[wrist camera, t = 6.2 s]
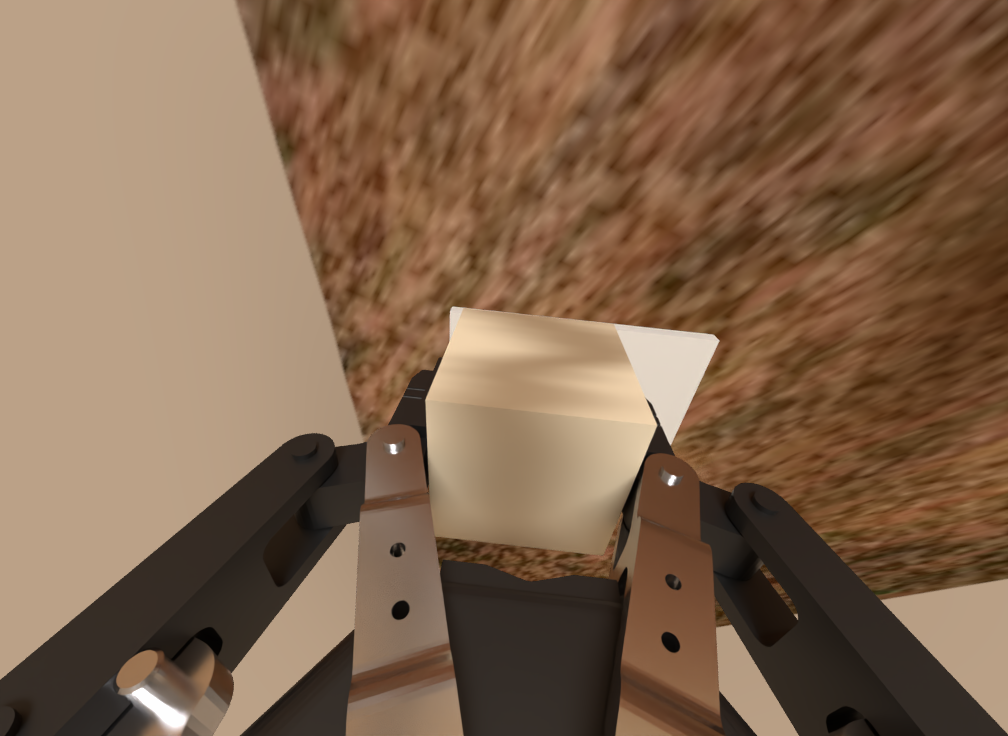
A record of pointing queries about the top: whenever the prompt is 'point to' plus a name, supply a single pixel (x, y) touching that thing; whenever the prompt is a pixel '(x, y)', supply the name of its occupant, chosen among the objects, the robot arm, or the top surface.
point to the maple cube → (534, 432)
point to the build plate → (659, 366)
